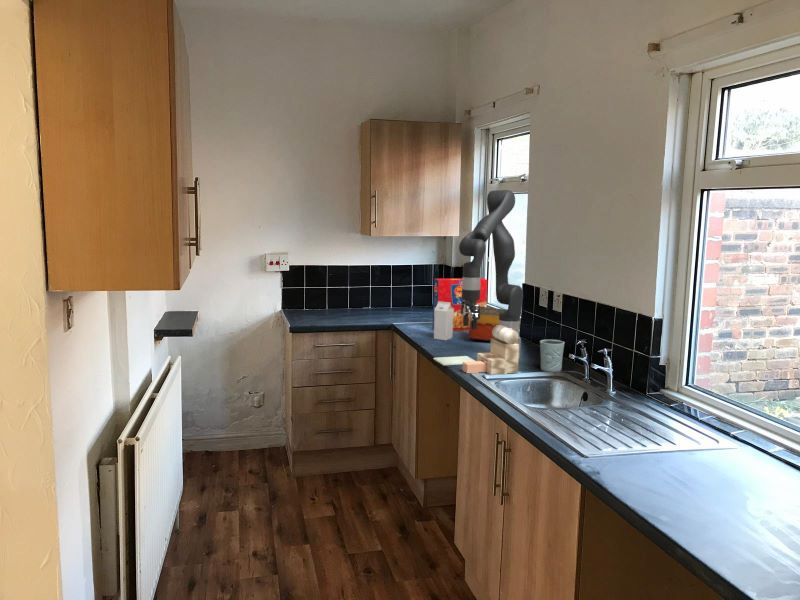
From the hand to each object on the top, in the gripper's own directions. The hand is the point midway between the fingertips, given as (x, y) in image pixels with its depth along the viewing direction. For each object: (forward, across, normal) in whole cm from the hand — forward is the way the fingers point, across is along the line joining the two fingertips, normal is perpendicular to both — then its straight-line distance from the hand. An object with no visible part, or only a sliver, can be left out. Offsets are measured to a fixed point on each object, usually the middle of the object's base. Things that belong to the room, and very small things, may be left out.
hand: (469, 327), depth 276 cm
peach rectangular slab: (+19, -1, -5) cm, 19 cm away
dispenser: (+18, -1, -13) cm, 22 cm away
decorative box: (+19, +59, -36) cm, 71 cm away
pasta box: (+18, +89, -31) cm, 96 cm away
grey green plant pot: (+19, -4, -36) cm, 40 cm away
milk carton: (+18, +66, -13) cm, 70 cm away
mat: (+18, +18, -1) cm, 26 cm away
